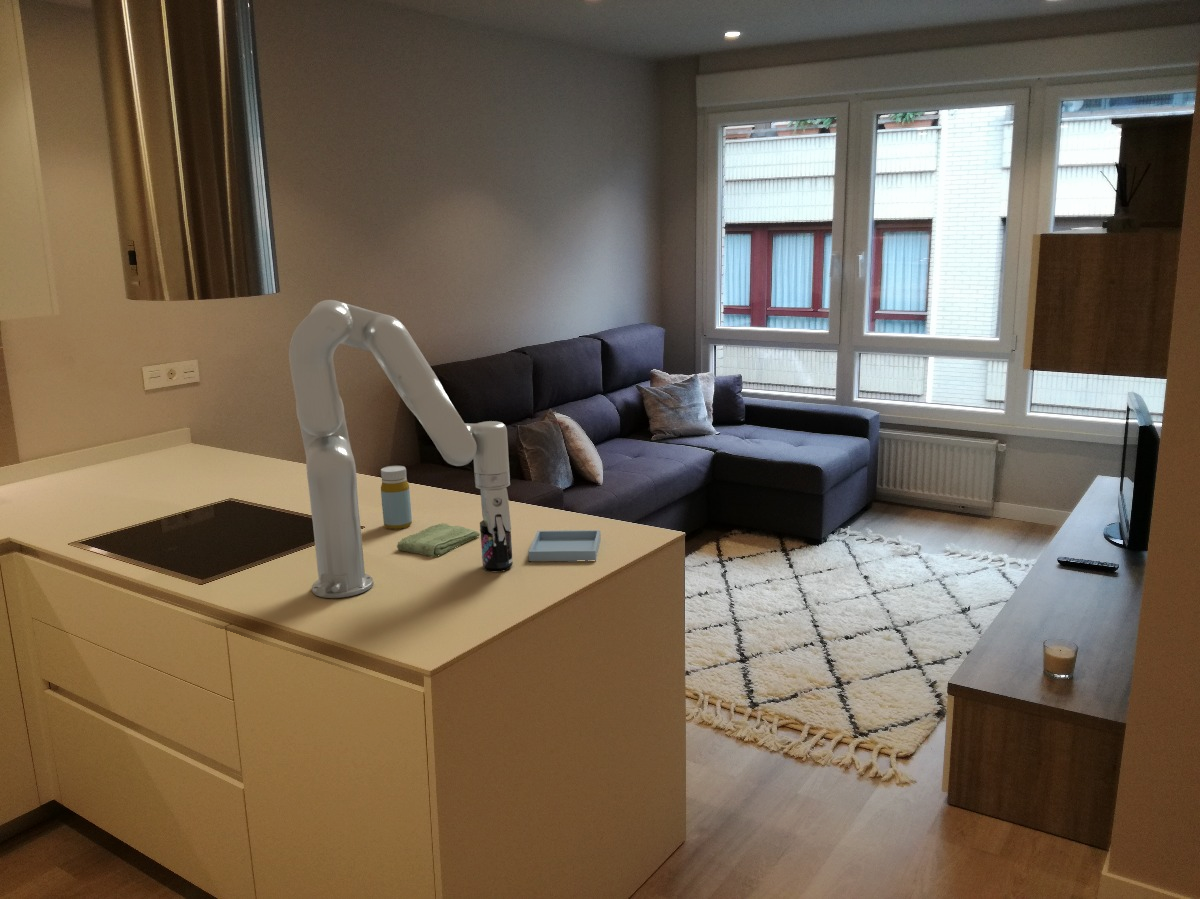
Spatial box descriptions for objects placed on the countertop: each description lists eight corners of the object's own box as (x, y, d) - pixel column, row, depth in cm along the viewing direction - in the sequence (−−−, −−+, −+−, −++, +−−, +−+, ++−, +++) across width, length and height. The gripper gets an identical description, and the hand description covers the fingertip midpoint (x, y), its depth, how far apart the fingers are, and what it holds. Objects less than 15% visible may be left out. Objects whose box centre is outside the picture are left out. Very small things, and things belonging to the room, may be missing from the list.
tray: (595, 561, 220) (595, 551, 220) (529, 561, 222) (528, 551, 221) (600, 539, 235) (600, 530, 234) (538, 540, 236) (537, 530, 236)
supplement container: (486, 562, 222) (483, 517, 220) (515, 562, 222) (513, 517, 219) (479, 572, 216) (476, 527, 214) (509, 572, 215) (507, 527, 213)
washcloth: (483, 538, 241) (482, 525, 240) (436, 560, 226) (435, 547, 225) (441, 531, 247) (440, 519, 247) (392, 552, 233) (391, 539, 232)
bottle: (405, 530, 247) (401, 472, 244) (379, 529, 249) (374, 472, 245) (416, 522, 254) (411, 465, 250) (390, 521, 255) (385, 465, 252)
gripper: (517, 486, 207) (521, 567, 211) (502, 467, 223) (506, 543, 227) (481, 490, 205) (486, 572, 209) (469, 471, 221) (474, 547, 225)
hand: (497, 556), depth 218 cm, fingers closed on supplement container, 6 cm apart
